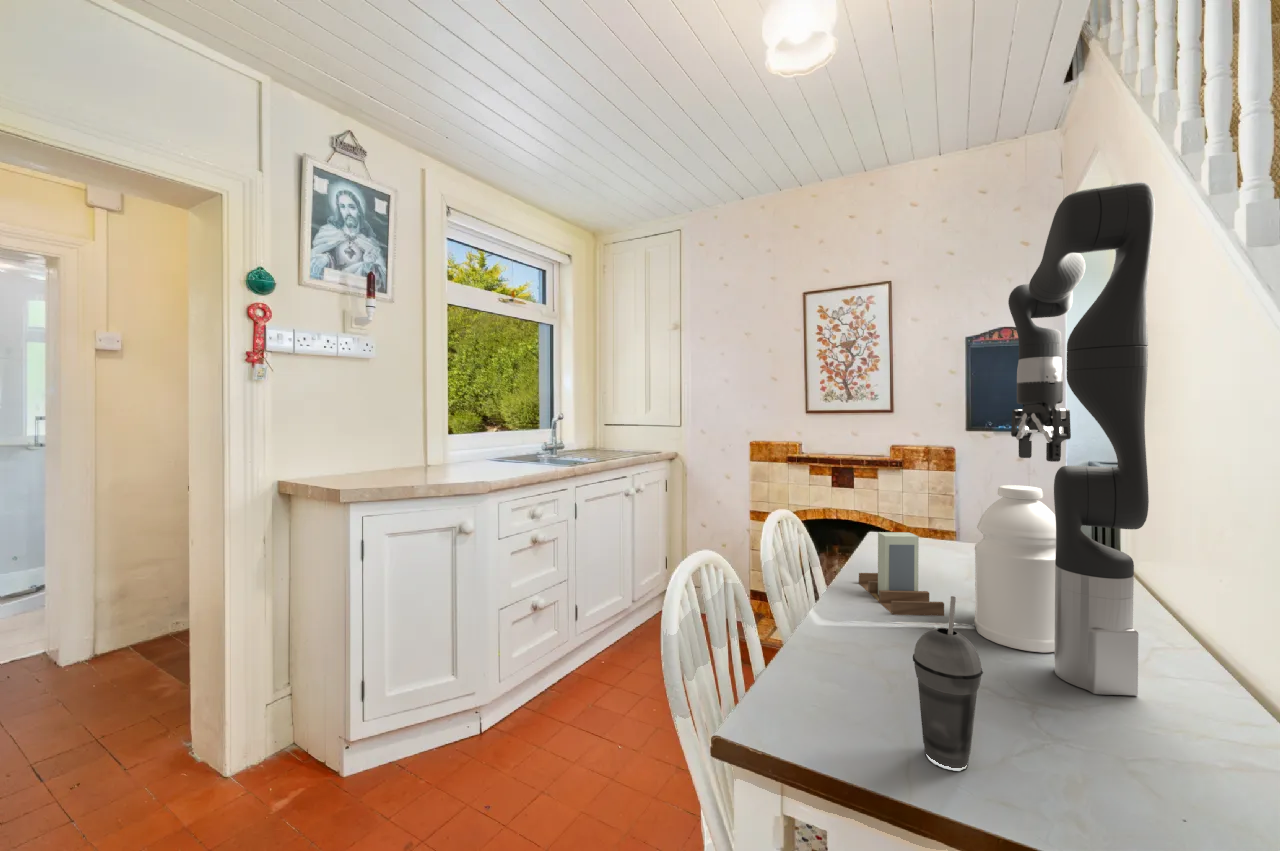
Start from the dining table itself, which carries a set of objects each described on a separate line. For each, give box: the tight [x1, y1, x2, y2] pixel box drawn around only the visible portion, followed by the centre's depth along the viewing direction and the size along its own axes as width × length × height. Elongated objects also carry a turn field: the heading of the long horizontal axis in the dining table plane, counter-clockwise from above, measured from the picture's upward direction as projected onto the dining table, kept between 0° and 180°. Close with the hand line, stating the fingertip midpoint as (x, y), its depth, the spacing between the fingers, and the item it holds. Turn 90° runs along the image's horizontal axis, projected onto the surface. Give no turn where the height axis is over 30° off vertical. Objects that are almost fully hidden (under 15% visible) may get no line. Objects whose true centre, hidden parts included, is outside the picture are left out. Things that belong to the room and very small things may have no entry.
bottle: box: [973, 484, 1056, 654], centre depth 98 cm, size 14×14×28 cm
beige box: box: [877, 531, 920, 595], centre depth 116 cm, size 4×7×14 cm, turn 86°
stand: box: [858, 572, 945, 617], centre depth 116 cm, size 20×10×4 cm, turn 176°
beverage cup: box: [912, 595, 984, 768], centre depth 63 cm, size 7×7×20 cm
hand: (1038, 459), depth 109 cm, fingers open, 8 cm apart
